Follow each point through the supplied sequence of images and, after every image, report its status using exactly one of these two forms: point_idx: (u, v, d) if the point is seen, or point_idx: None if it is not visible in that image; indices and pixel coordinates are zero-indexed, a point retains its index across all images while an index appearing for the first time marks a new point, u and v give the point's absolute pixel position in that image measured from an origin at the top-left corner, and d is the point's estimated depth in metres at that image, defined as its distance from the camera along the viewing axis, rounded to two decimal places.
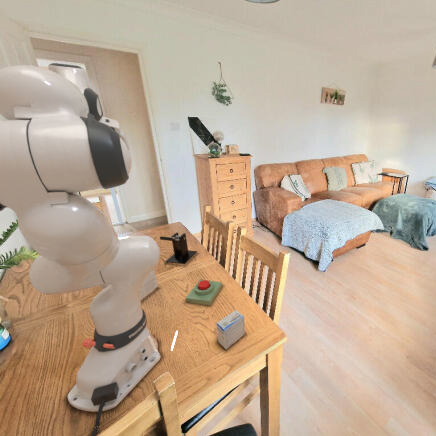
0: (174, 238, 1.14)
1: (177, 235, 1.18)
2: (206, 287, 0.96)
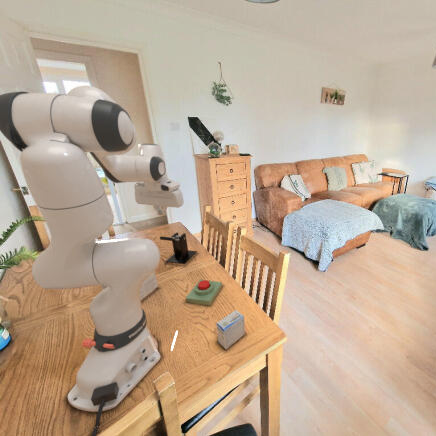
0: (174, 238, 1.14)
1: (177, 235, 1.18)
2: (206, 287, 0.96)
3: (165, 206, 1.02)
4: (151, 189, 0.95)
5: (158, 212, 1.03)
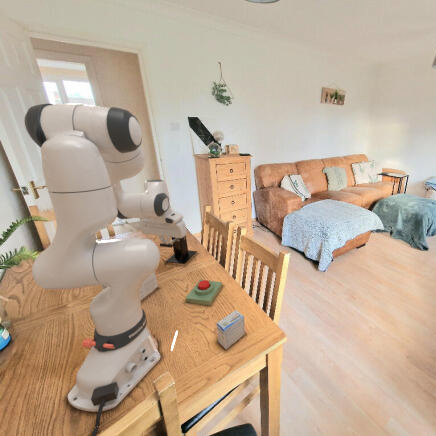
0: (174, 241, 1.14)
1: None
2: (206, 287, 0.96)
3: None
4: (156, 222, 1.00)
5: (162, 241, 1.08)
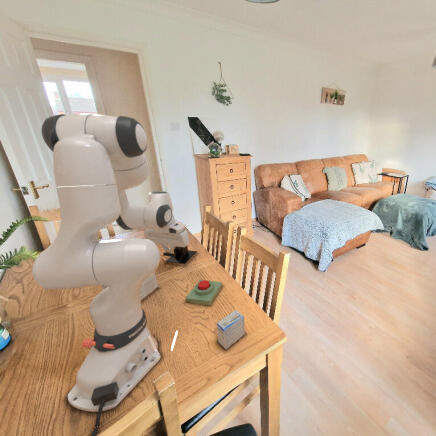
0: None
1: None
2: (206, 287, 0.96)
3: (172, 245, 1.10)
4: (160, 232, 1.03)
5: (166, 250, 1.11)
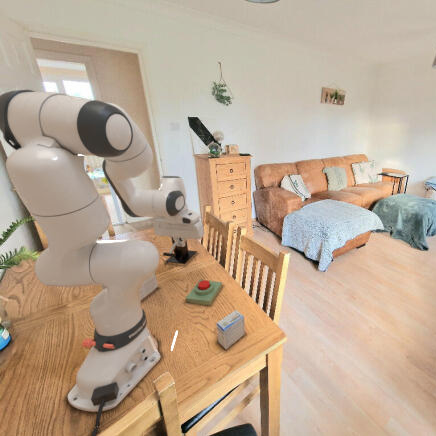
0: (175, 245, 1.16)
1: None
2: (206, 287, 0.96)
3: None
4: (172, 222, 0.92)
5: (177, 244, 0.99)
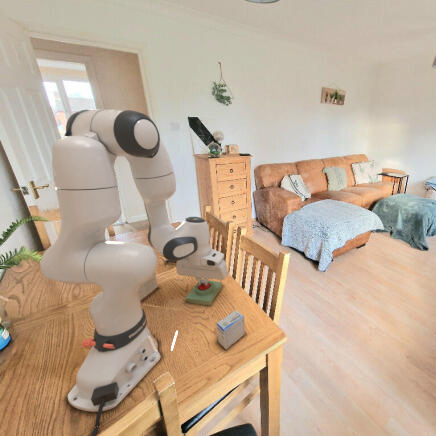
0: None
1: None
2: None
3: None
4: (196, 264, 0.89)
5: (200, 283, 0.97)
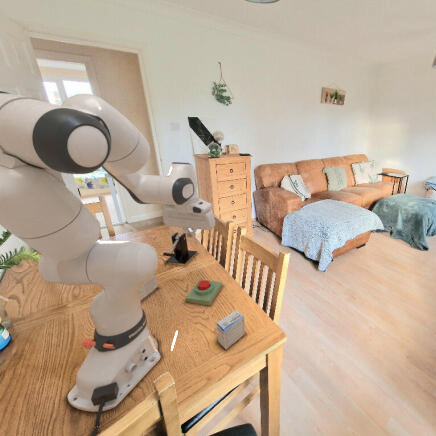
0: (175, 245, 1.16)
1: (176, 237, 1.17)
2: (206, 287, 0.96)
3: (195, 228, 0.94)
4: (182, 211, 0.87)
5: (187, 234, 0.95)
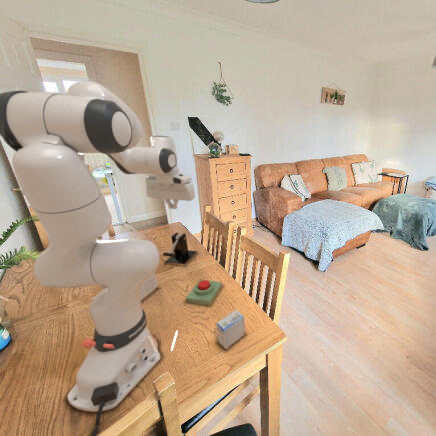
0: (175, 245, 1.16)
1: (176, 237, 1.17)
2: (206, 287, 0.96)
3: None
4: (163, 182, 0.95)
5: (169, 206, 1.02)
